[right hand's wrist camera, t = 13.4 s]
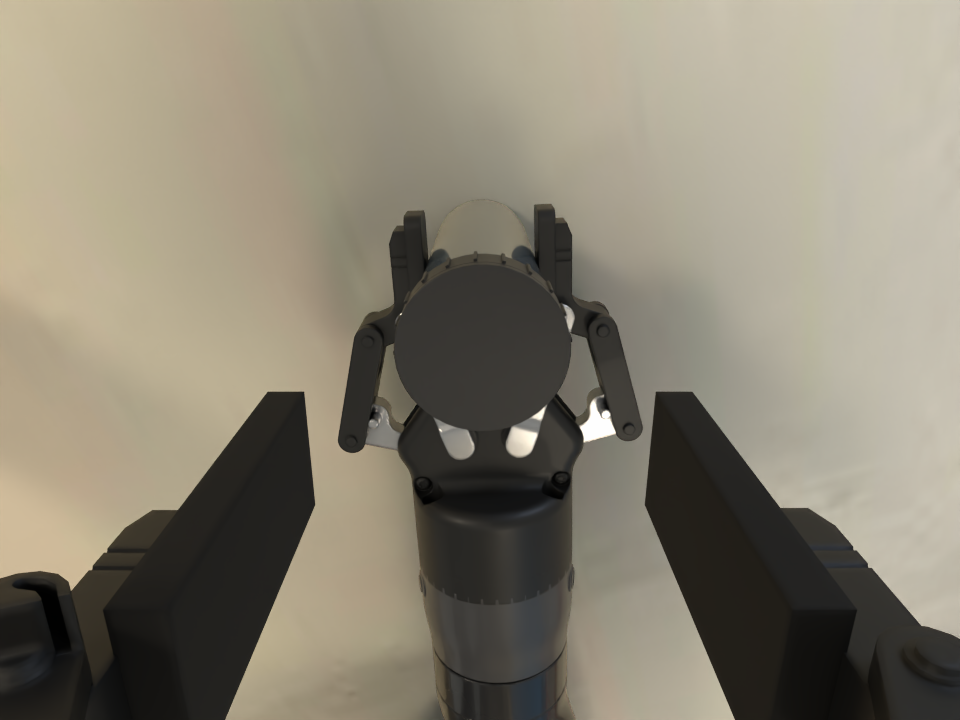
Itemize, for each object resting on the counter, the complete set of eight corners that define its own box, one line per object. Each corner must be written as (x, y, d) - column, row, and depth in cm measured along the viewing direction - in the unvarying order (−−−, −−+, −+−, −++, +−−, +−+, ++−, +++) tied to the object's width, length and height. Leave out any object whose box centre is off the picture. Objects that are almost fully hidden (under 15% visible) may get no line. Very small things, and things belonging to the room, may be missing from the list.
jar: (476, 179, 34) (473, 236, 19) (546, 240, 35) (593, 338, 20) (418, 250, 35) (371, 354, 20) (486, 307, 36) (490, 445, 21)
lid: (472, 214, 20) (471, 223, 18) (601, 325, 21) (610, 342, 20) (364, 343, 21) (355, 361, 20) (491, 440, 22) (491, 464, 21)
